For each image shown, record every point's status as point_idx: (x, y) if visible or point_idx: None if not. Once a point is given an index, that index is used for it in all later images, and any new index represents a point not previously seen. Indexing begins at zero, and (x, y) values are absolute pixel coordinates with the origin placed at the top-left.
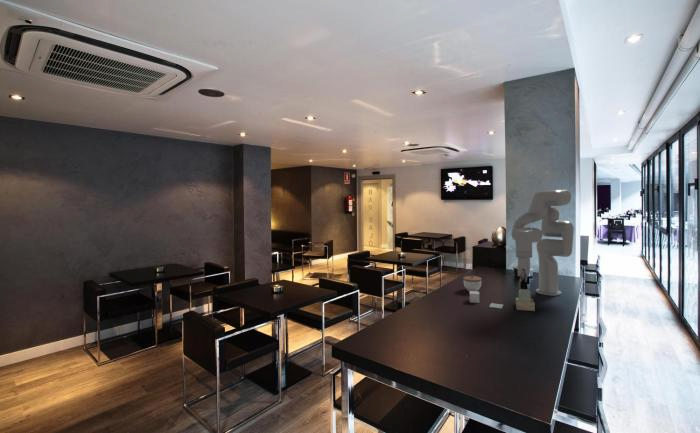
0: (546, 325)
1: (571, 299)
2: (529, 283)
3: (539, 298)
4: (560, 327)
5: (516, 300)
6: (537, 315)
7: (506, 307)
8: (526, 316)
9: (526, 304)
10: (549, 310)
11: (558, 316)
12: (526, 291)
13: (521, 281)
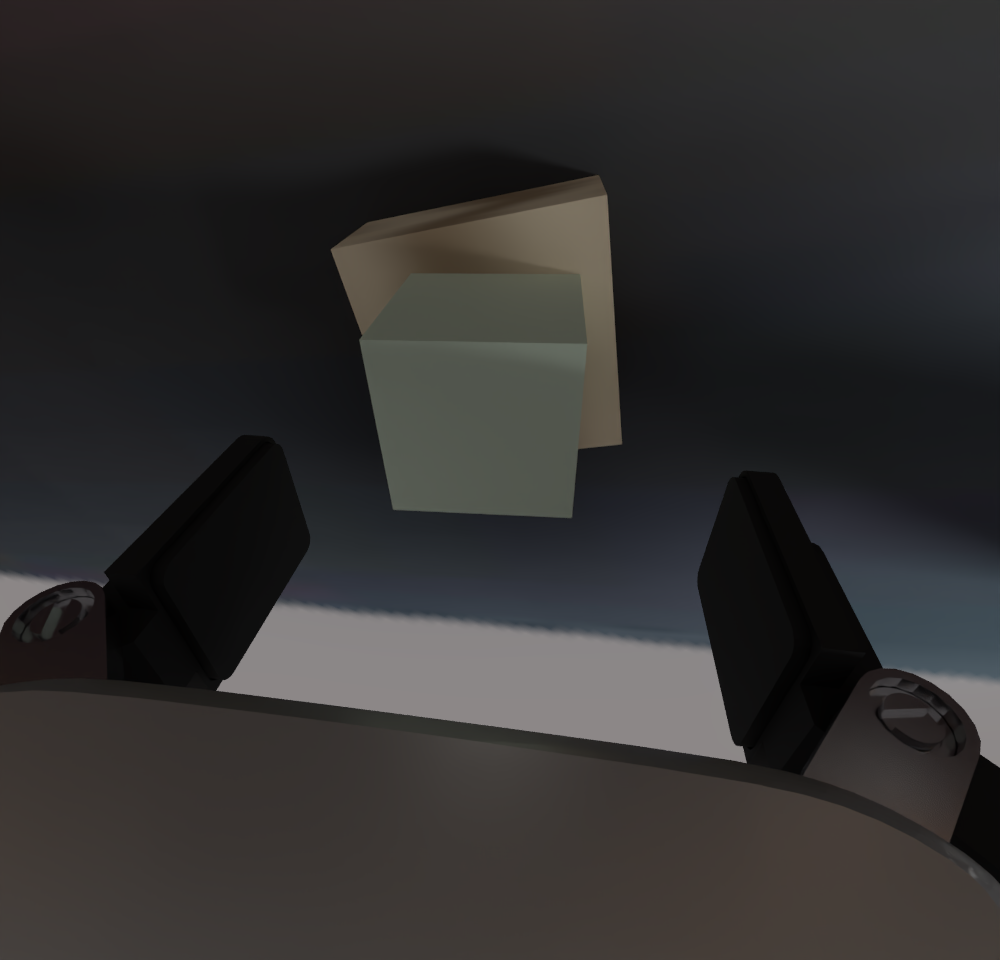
0: (112, 498)
1: (916, 663)
2: (705, 592)
3: (969, 452)
4: None
5: (442, 230)
6: (302, 441)
7: (376, 29)
8: (194, 352)
9: None
10: (512, 524)
11: (384, 568)
12: (462, 467)
13: (58, 610)
